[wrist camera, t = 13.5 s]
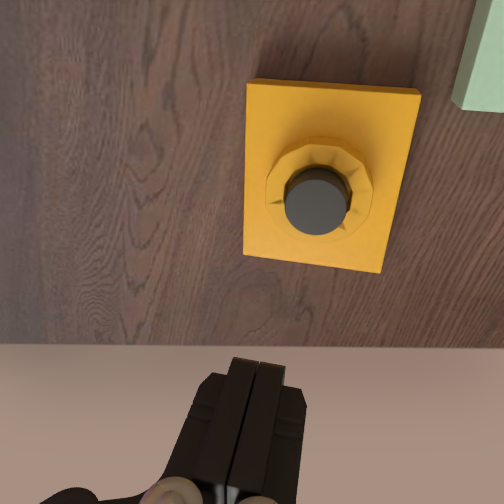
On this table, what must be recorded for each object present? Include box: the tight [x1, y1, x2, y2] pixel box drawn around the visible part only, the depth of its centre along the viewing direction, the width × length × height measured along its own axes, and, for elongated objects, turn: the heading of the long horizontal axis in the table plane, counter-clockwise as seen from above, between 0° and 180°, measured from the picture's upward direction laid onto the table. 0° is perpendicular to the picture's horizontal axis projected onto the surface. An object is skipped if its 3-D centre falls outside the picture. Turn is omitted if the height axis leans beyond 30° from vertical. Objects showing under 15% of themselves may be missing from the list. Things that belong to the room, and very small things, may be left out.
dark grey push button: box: [285, 167, 347, 235], centre depth 24 cm, size 4×4×2 cm
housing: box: [243, 78, 422, 273], centre depth 27 cm, size 12×10×4 cm
